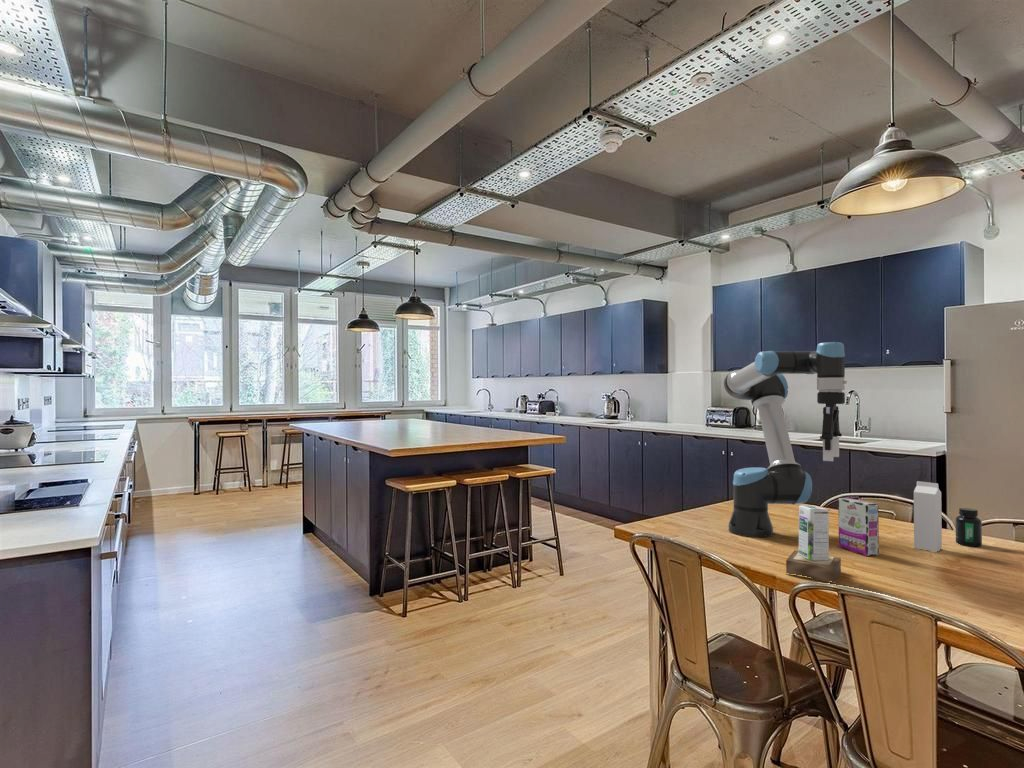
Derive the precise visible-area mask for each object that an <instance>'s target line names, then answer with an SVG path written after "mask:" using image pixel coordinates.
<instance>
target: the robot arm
mask: <svg viewBox="0 0 1024 768" xmlns="http://www.w3.org/2000/svg"><path fill="white" fill-rule="evenodd" d="M845 359H846V353H845V344H844V343H843V342H841V341H840V342H838V341H832V342H831V341H829V342H828V341H827V342H826V341H825V342H820V343H818V344H817V346H816V350H814V351H813V350H810V351H809V350H805V351H804V350H801V351H800V350H799V351H798V350H796V351H795V350H793V351H792V350H791V351H790V350H789V351H788V350H786V351H785V350H784V351H783V350H782V351H780V350H779V351H778V350H767V351H766V350H765V351H764V350H763V351H759V352H758V353H757V354H756V356H755V358H754V362H753V361H752V362H751V363H750V364H748V365H746V366H744V367H742V368H741V369H735V370H732V371H731V372H729V373H728V374H727V375H726V376H725V378H724V380H723V387H724V390H725V391H726V393H727V394H728V395H729V396H730V397H732V398H734V399H738V400H742V401H745V400H746V401H747V400H748V401H752V405H753V407H754V408H756V409H757V410H758V415H759V418H760V423H761V428H762V433H763V438H764V442H765V446H766V452H767V456H768V460H769V466H767V468H765V467H760V466H759V467H743V468H739V469H736V471H735V472H734V473H733V480H732V485H733V486H732V487H733V488H732V489H733V495H732V498H733V510H732V513H731V516H730V519H729V522H728V531H729V532H731V533H732V534H735V535H739V536H745V537H751V538H753V537H754V538H768V537H772V536H773V535H774V526H773V523H772V521H771V518H770V515H769V511H768V510H769V505H770V504H771V505H775V504H776V505H793V506H794V505H798V504H799V505H800V504H801V505H802V504H805V503H806V502H807V501H808V500H810V498H811V495H812V491H813V480H812V477H811V475H810V474H809V473H808V472H807V471H803V470H802V466H801V464H800V463H798V462H796V460H795V457H794V452H793V451H794V450H793V448H792V443H791V438H790V435H789V430H788V425H787V421H786V418H785V415H784V410H783V406H782V405H783V403H784V402H785V400H786V398H787V397H788V394H789V390H788V389H789V385H788V381H787V379H786V377H785V375H784V374H793V375H794V374H795V375H796V374H797V375H798V374H801V375H802V374H804V375H815V374H816V390H817V391H818V392H817V394H816V396H817V397H816V398H817V399H816V402H817V403H818V404H819V405H825V406H823V408H822V417H823V418H822V428H821V430H822V432H821V435H820V436H819V439H820V440H822V461H823V462H834V458H840V437H842V434H843V433H841V431H840V422H839V421H840V420H839V419H840V417H839V413H840V409H839V406H837V405H844V404H845V402H846V394H845V392H844V391H845V389H846V388H845V387H846V386H845V385H846V384H847V383H848V380H845V374H846V373H845V371H846V370H845V364H846V363H845V362H846V360H845Z"/></svg>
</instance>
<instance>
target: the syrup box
mask: <svg viewBox="0 0 1024 768" xmlns="http://www.w3.org/2000/svg"><path fill="white" fill-rule="evenodd" d="M829 514H830V510H829V509H827V508H823V507H820V506H817V505H811V504H803V505H802V504H801V505H799V506H798V551H799V555H800V556H802V557H804V558H806V559H808V560H810V561H821V560H829V556H830V555H829V552H830V551H829V550H830V548H829V547H830V545H829V543H830V541H829V540H830V538H829V537H830V535H829V533H830V531H829V529H830V527H829V525H830V523H829V522H830V520H829V518H830V515H829Z"/></svg>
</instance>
